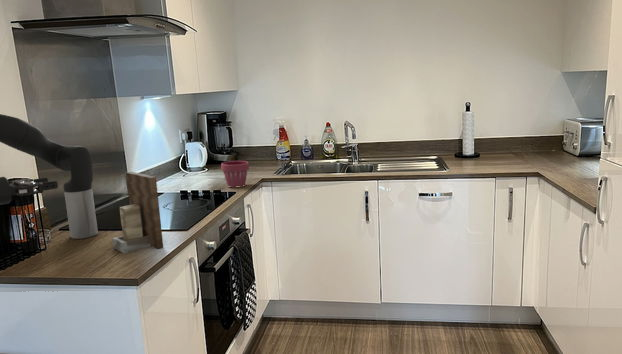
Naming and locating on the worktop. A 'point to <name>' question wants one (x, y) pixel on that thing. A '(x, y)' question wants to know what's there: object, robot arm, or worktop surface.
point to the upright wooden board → (143, 213)
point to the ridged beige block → (131, 222)
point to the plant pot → (235, 172)
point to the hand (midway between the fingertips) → (52, 182)
